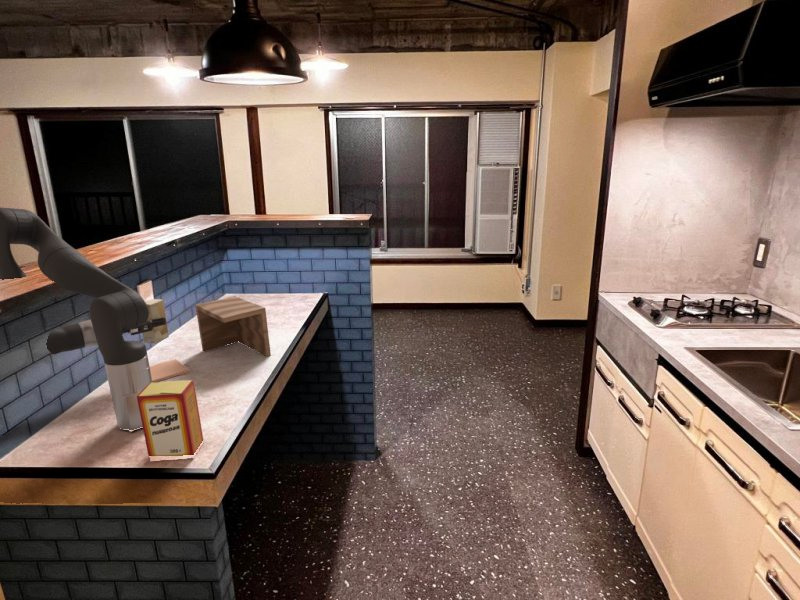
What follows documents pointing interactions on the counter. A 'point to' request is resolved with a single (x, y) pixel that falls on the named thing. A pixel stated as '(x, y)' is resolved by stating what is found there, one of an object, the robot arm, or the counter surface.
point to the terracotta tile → (167, 370)
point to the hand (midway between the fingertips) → (161, 318)
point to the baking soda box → (170, 418)
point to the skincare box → (156, 312)
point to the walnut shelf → (233, 324)
